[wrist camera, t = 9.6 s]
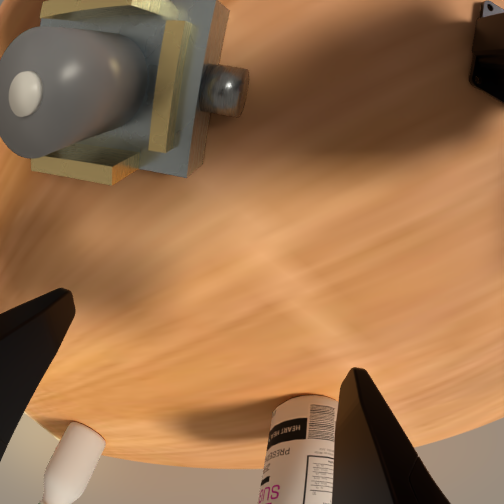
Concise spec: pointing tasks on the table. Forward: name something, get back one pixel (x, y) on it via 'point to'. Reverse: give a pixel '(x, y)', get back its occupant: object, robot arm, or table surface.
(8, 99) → the grey rounded piece
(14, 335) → the robot arm
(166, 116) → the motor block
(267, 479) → the supplement can
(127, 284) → the table surface
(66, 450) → the milk bottle
